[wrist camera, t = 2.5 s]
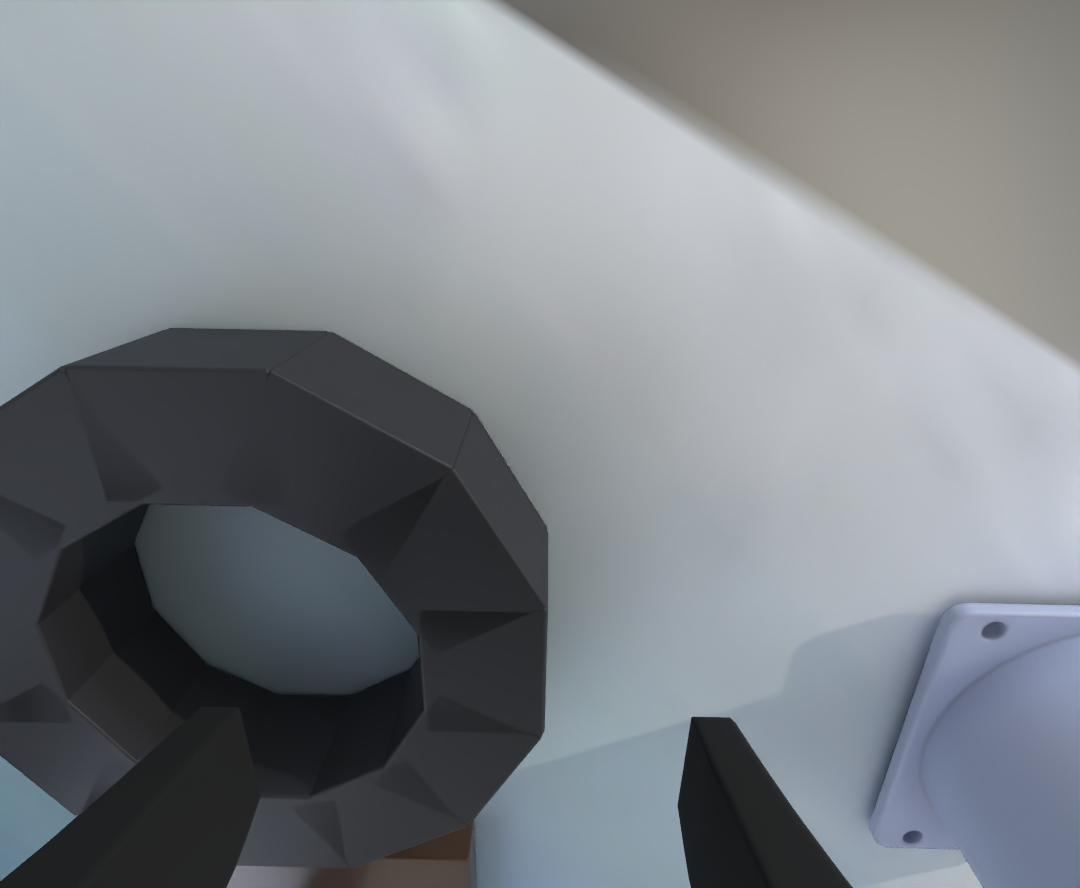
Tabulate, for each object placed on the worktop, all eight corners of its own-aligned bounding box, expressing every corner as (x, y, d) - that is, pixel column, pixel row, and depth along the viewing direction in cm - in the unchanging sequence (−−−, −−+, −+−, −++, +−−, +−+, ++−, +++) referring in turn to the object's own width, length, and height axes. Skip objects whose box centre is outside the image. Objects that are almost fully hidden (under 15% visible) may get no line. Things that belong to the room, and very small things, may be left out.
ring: (553, 334, 12) (553, 375, 9) (542, 766, 16) (540, 875, 14) (-51, 322, 12) (-223, 359, 9) (109, 755, 16) (25, 862, 14)
